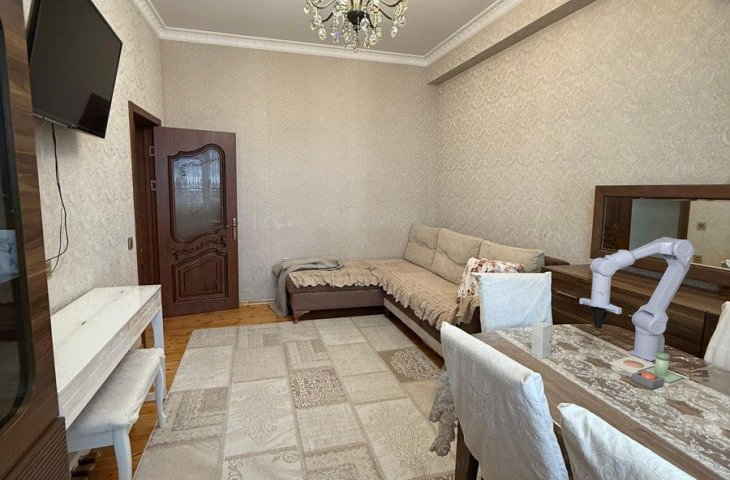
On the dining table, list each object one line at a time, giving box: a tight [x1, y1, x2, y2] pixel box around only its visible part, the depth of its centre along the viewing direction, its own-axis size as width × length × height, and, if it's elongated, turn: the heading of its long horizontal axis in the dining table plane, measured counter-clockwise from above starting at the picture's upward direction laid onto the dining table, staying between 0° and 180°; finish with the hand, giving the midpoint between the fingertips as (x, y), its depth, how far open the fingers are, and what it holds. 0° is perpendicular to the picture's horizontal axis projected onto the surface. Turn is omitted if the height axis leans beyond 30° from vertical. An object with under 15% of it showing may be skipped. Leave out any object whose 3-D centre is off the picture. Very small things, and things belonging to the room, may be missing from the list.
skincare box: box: [531, 320, 553, 360], centre depth 140 cm, size 6×4×12 cm
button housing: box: [631, 370, 665, 391], centre depth 120 cm, size 6×6×2 cm
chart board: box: [609, 356, 690, 388], centre depth 129 cm, size 12×18×1 cm, turn 25°
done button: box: [641, 371, 656, 380], centre depth 120 cm, size 4×4×2 cm
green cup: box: [654, 351, 671, 377], centre depth 125 cm, size 4×4×7 cm
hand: (598, 327), depth 141 cm, fingers closed
